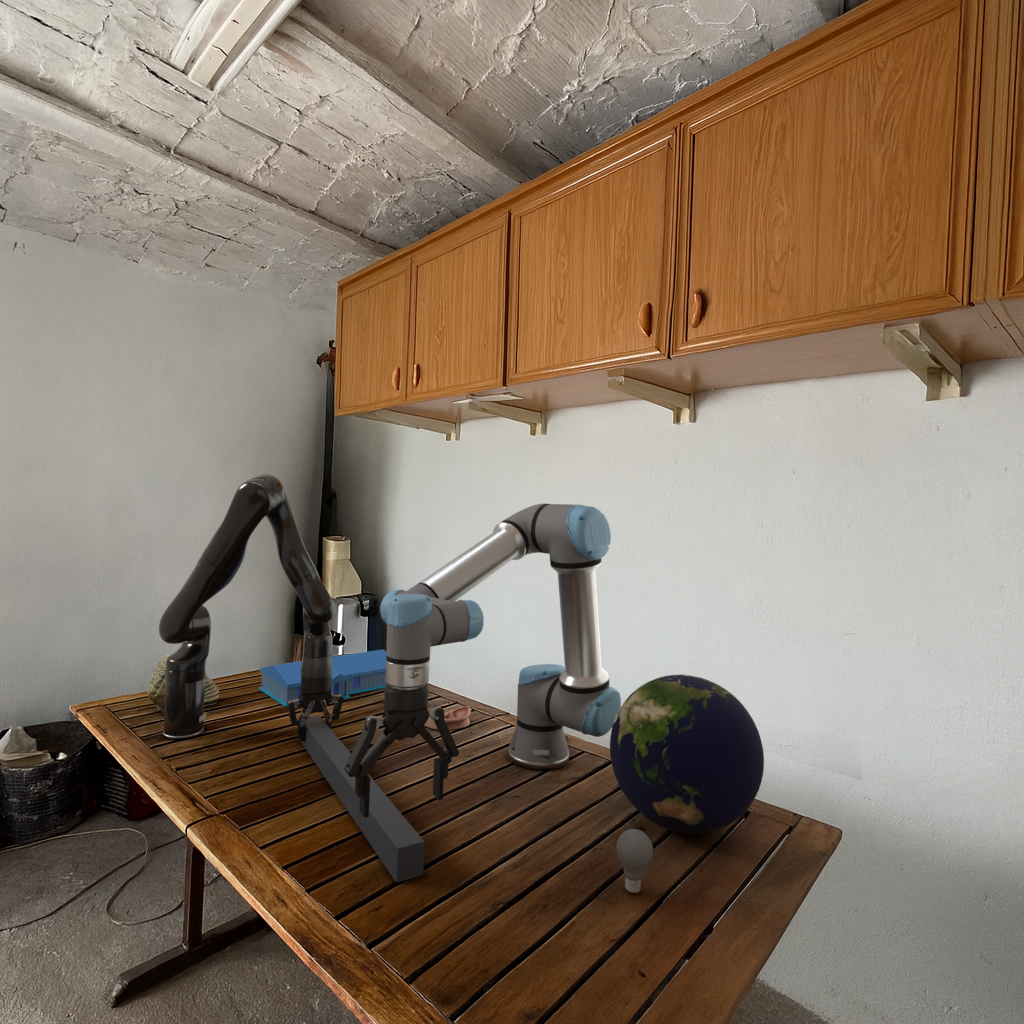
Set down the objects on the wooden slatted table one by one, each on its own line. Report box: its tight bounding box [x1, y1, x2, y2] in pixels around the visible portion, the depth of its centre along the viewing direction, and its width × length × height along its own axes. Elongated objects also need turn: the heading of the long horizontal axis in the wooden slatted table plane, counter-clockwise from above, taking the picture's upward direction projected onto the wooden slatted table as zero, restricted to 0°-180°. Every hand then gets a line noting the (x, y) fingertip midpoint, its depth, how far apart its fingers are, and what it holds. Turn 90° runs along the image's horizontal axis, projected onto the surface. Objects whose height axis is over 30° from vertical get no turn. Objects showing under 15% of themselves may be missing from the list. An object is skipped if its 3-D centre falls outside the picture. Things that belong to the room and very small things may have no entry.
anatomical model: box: [424, 705, 472, 731], centre depth 180 cm, size 13×4×12 cm
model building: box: [258, 649, 387, 707], centre depth 208 cm, size 39×24×10 cm, turn 132°
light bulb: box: [615, 828, 654, 894], centre depth 106 cm, size 6×6×10 cm
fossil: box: [147, 654, 221, 712], centre depth 185 cm, size 9×18×15 cm, turn 132°
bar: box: [299, 714, 425, 883], centre depth 136 cm, size 69×5×6 cm, turn 32°
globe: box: [609, 673, 765, 835], centre depth 128 cm, size 30×30×30 cm
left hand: (314, 738), depth 161 cm, fingers open, 5 cm apart
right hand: (402, 805), depth 110 cm, fingers open, 13 cm apart
